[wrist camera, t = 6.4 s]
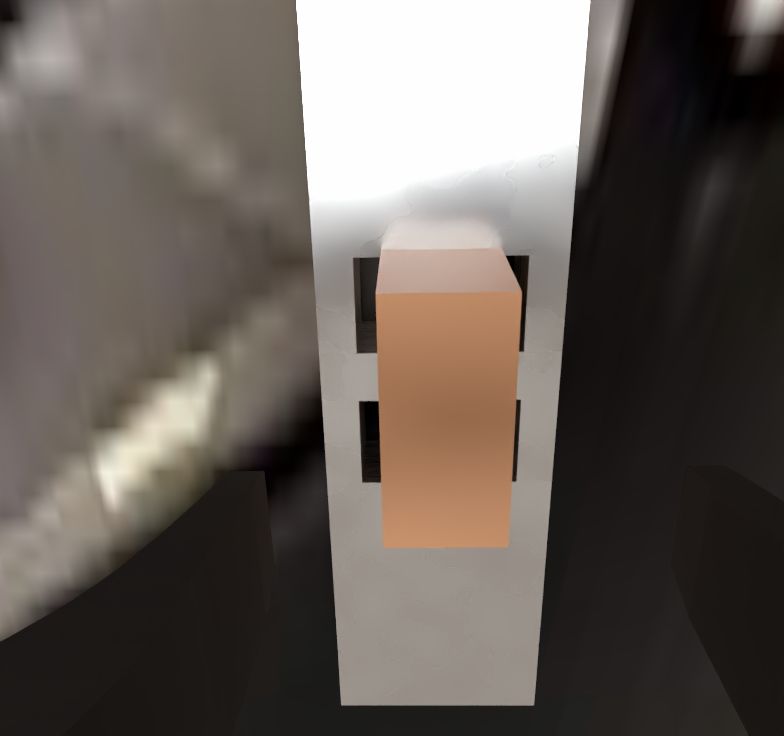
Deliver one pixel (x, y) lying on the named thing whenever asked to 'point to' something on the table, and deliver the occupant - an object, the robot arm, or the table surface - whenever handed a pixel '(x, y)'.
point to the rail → (439, 231)
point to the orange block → (447, 396)
